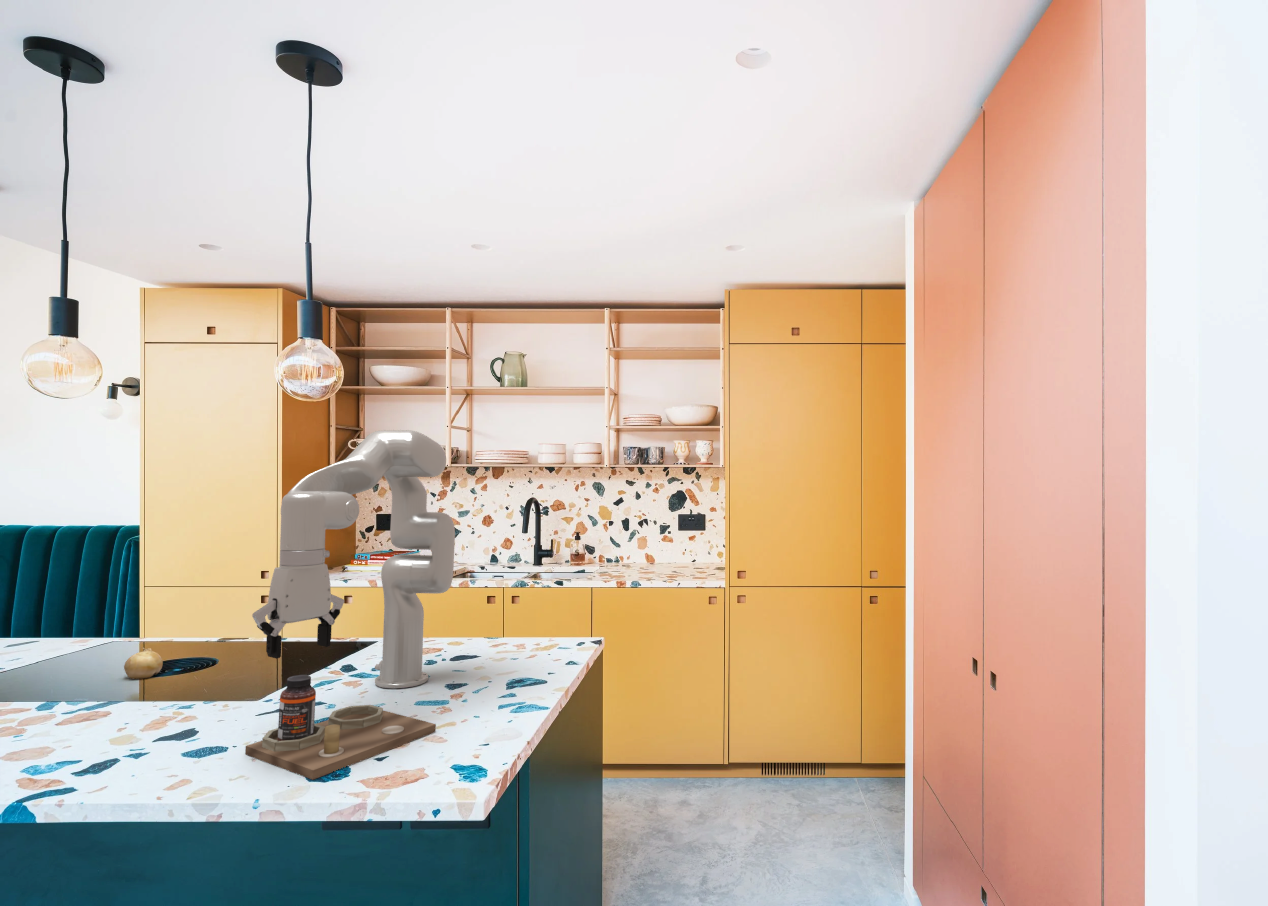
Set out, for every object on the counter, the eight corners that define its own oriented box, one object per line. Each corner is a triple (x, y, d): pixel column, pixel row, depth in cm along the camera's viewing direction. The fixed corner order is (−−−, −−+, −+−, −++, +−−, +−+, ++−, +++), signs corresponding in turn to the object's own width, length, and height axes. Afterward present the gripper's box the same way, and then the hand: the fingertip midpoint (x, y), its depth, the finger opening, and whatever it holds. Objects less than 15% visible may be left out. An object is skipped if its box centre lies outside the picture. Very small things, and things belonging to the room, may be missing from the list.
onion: (167, 676, 167) (169, 647, 168) (131, 683, 161) (133, 653, 161) (154, 671, 172) (155, 644, 172) (117, 678, 165) (119, 649, 166)
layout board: (245, 754, 117) (246, 720, 117) (369, 714, 139) (370, 685, 140) (312, 779, 107) (314, 742, 107) (435, 731, 129) (436, 700, 129)
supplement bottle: (276, 748, 116) (279, 683, 117) (277, 737, 121) (280, 675, 122) (314, 743, 119) (316, 679, 119) (313, 732, 124) (316, 671, 125)
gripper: (332, 553, 131) (329, 639, 131) (244, 562, 117) (240, 659, 116) (355, 555, 128) (353, 644, 127) (268, 565, 113) (264, 665, 112)
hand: (299, 651), depth 121 cm, fingers open, 9 cm apart
